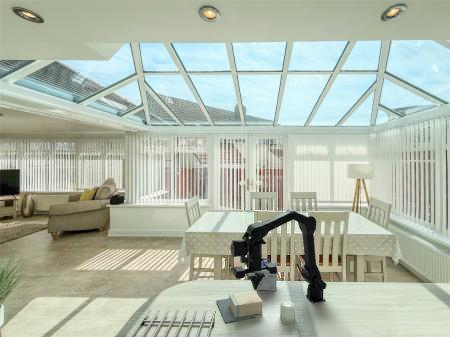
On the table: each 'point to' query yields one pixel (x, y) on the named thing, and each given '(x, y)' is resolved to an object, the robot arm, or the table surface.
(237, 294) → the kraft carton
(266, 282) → the product box
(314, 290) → the robot arm
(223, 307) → the mat
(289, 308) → the white rounded cylinder
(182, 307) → the table surface
